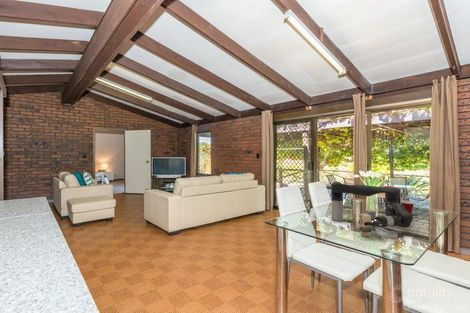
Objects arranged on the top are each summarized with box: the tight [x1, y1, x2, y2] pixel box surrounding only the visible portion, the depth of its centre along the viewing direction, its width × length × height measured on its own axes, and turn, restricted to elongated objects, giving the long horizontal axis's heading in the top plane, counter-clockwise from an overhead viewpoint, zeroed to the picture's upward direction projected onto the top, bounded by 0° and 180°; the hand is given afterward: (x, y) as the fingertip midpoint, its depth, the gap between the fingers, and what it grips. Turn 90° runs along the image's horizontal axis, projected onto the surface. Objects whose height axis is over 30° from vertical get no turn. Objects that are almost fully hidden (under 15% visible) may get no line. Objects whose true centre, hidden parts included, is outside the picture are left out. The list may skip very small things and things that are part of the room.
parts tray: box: [357, 224, 399, 240], centre depth 180 cm, size 26×12×3 cm, turn 7°
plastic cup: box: [400, 199, 416, 215], centre depth 232 cm, size 11×11×12 cm
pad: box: [351, 231, 381, 242], centre depth 172 cm, size 16×11×1 cm
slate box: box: [364, 209, 377, 230], centre depth 187 cm, size 5×5×14 cm
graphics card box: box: [384, 185, 401, 218], centre depth 221 cm, size 17×7×27 cm, turn 168°
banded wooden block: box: [359, 213, 372, 236], centre depth 172 cm, size 5×5×14 cm
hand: (361, 222), depth 172 cm, fingers closed on banded wooden block, 5 cm apart
